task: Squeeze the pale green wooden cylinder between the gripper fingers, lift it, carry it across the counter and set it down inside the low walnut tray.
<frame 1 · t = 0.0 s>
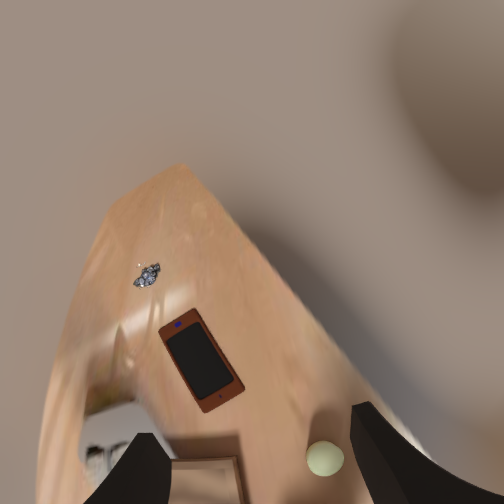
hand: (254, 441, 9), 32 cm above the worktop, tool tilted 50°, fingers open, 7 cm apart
walnut tray: (199, 500, 31), on the worktop
blueberries: (149, 275, 51), on the worktop
green cylinder: (321, 455, 34), on the worktop
smartphone: (199, 360, 43), on the worktop
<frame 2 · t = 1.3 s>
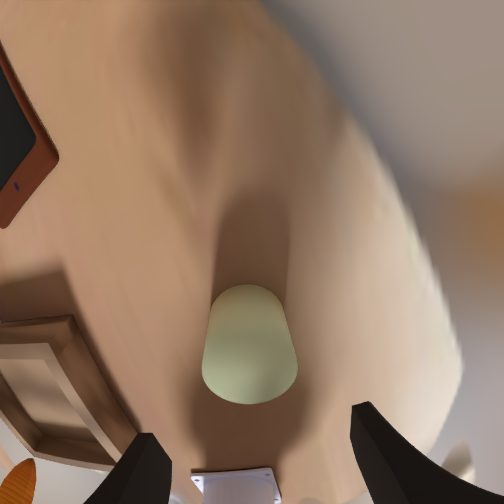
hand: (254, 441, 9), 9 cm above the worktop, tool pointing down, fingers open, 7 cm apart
walnut tray: (52, 390, 20), on the worktop
green cylinder: (246, 317, 18), on the worktop
carrot: (33, 457, 25), on the worktop
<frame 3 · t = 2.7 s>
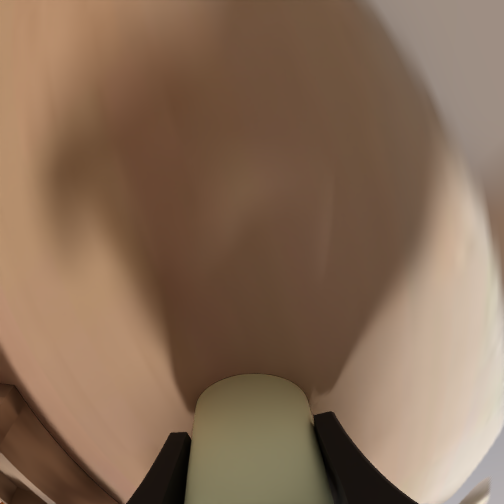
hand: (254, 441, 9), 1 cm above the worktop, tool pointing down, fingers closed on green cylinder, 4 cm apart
walnut tray: (16, 451, 12), on the worktop
green cylinder: (252, 413, 11), on the worktop, touching gripper
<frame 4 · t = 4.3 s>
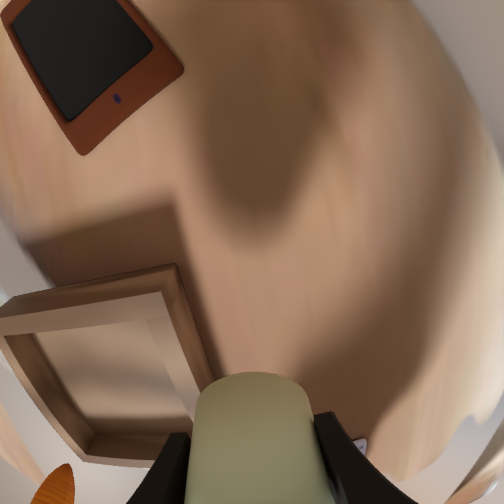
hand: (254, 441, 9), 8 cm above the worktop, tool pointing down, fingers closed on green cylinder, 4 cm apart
walnut tray: (120, 373, 18), on the worktop
green cylinder: (252, 412, 11), point 7 cm above the worktop, touching gripper
smartphone: (75, 32, 12), on the worktop
carrot: (69, 462, 23), on the worktop
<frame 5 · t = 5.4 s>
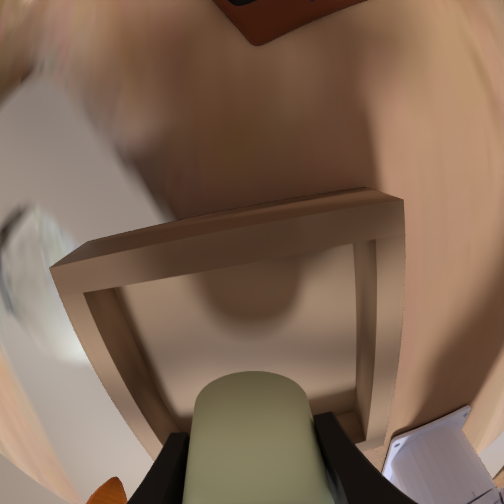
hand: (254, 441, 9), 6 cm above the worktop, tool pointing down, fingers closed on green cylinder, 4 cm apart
walnut tray: (249, 347, 15), on the worktop
green cylinder: (251, 411, 11), point 5 cm above the worktop, touching gripper
carrot: (117, 475, 20), on the worktop
when the fingers open (4 cm above the worktop, at t = 6.2 s): green cylinder drops 1 cm, resting on walnut tray.
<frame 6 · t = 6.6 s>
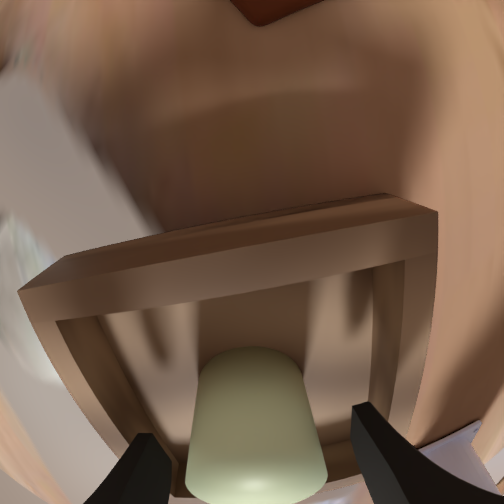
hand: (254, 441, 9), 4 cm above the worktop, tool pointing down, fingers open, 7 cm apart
walnut tray: (250, 374, 13), on the worktop
green cylinder: (250, 386, 12), point 1 cm above the worktop, touching walnut tray
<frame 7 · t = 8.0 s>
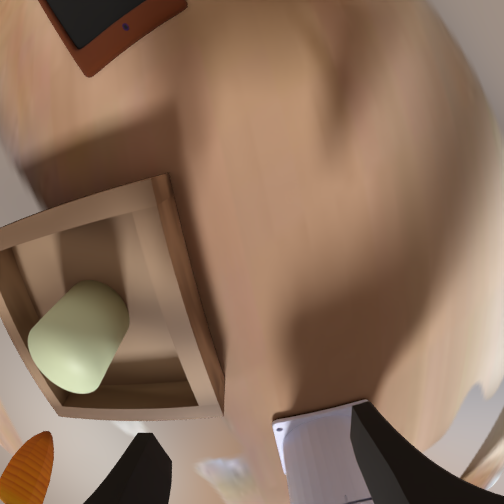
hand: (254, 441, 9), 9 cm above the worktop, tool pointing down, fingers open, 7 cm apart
walnut tray: (103, 307, 18), on the worktop
green cylinder: (97, 312, 17), point 1 cm above the worktop, touching walnut tray
carrot: (49, 430, 23), on the worktop
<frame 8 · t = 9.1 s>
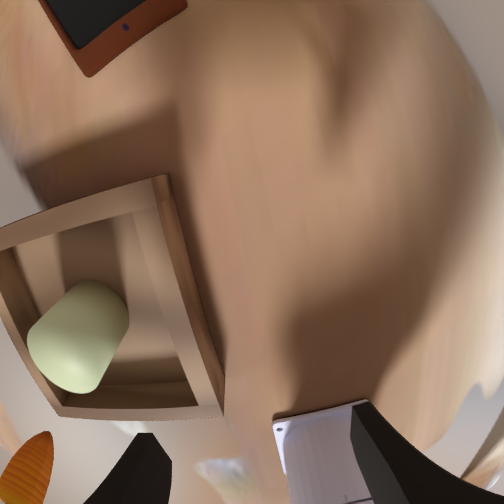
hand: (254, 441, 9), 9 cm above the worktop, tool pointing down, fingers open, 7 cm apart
walnut tray: (103, 307, 18), on the worktop
green cylinder: (97, 312, 17), point 1 cm above the worktop, touching walnut tray
carrot: (49, 430, 23), on the worktop
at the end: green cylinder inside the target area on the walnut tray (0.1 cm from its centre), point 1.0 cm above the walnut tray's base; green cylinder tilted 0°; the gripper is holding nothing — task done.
